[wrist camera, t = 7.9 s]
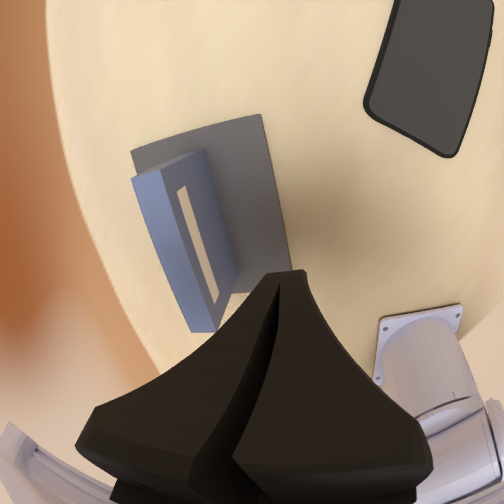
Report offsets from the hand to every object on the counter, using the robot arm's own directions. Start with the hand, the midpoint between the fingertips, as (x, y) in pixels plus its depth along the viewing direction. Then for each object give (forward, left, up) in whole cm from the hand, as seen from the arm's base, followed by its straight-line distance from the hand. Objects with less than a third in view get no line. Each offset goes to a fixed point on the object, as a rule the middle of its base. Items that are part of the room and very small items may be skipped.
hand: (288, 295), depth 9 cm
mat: (0, +5, -9) cm, 11 cm away
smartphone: (+10, -12, -10) cm, 18 cm away
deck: (0, +5, -9) cm, 10 cm away
